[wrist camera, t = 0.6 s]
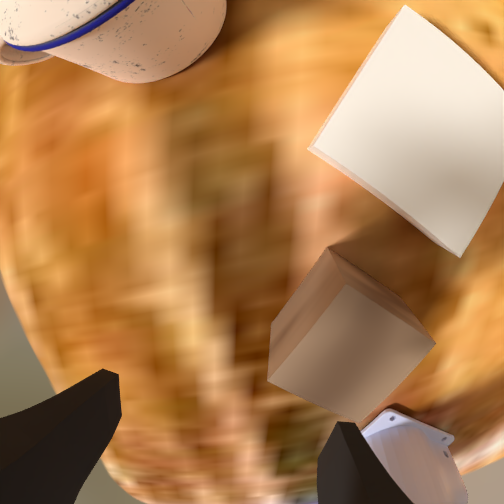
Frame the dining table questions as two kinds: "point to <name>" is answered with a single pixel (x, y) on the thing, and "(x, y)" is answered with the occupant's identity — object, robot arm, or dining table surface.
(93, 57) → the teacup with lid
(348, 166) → the cream block
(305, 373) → the walnut cube
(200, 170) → the dining table surface
